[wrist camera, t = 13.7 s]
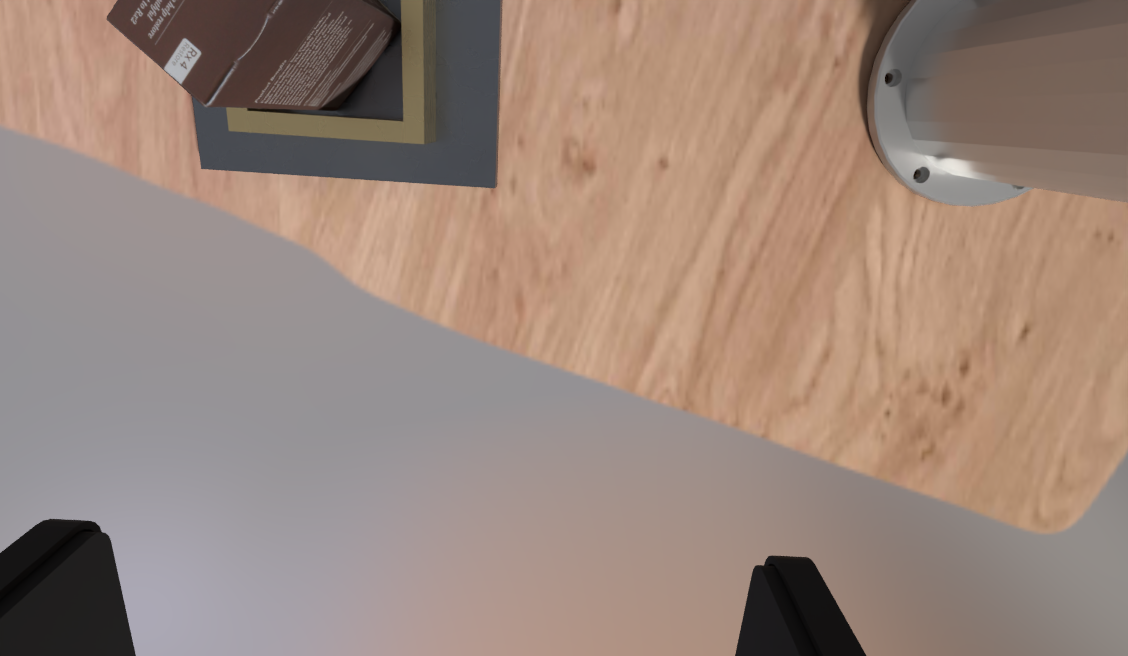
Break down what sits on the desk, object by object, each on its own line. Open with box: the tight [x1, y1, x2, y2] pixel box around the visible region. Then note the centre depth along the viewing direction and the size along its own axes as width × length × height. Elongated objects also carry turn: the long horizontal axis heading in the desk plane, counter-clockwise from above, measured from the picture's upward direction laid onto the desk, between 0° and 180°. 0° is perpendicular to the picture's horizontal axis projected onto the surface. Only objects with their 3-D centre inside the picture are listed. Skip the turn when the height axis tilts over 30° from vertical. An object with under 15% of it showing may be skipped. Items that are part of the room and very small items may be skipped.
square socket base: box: [192, 0, 502, 188], centre depth 30 cm, size 16×14×4 cm
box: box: [107, 0, 401, 111], centre depth 26 cm, size 6×4×12 cm
